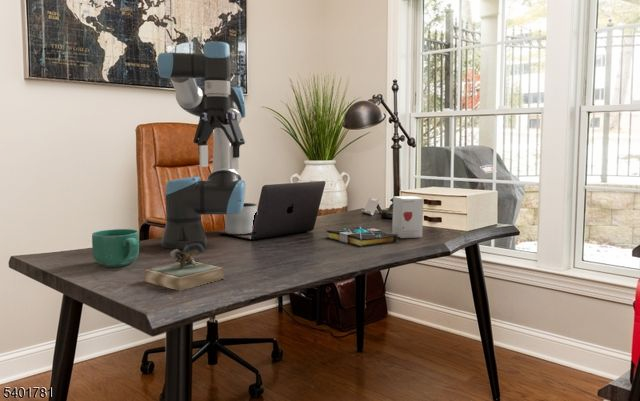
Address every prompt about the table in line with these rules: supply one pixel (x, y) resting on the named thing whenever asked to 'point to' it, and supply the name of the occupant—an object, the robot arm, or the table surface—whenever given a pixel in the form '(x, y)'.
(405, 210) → the supplement box
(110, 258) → the mug
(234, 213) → the robot arm
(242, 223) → the planter
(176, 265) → the pedestal
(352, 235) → the book
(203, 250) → the brown animal figurine
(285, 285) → the table surface
